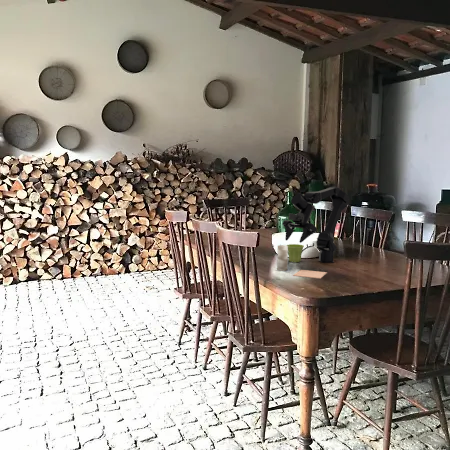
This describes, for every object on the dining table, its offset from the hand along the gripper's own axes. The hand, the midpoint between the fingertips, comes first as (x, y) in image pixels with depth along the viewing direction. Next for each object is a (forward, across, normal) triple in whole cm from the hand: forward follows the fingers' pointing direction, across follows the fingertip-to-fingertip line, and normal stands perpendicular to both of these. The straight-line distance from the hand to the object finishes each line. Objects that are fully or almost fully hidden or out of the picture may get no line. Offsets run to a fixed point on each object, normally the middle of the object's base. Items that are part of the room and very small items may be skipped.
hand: (293, 241), depth 243 cm
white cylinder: (+15, -2, +3) cm, 15 cm away
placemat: (+13, +14, +5) cm, 20 cm away
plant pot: (+4, -12, +20) cm, 24 cm away
